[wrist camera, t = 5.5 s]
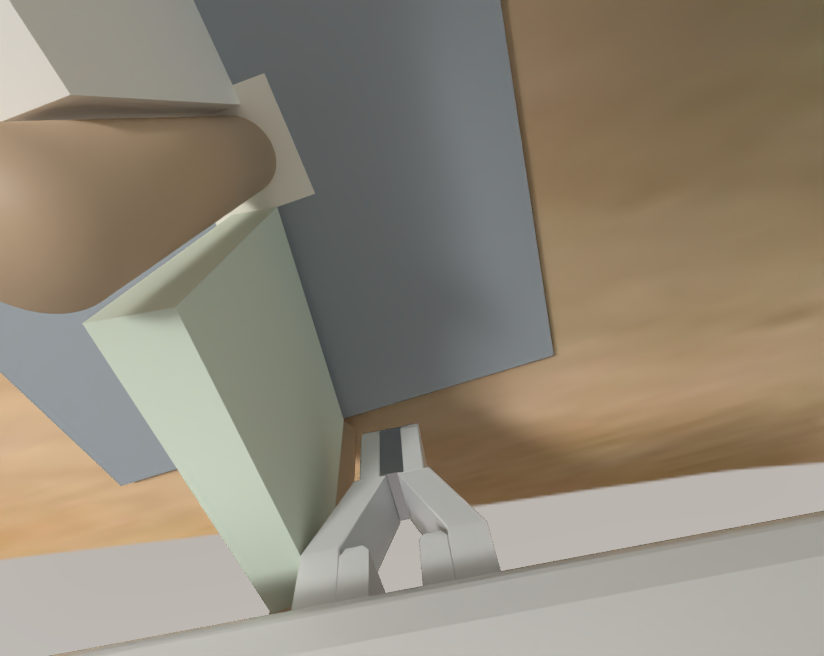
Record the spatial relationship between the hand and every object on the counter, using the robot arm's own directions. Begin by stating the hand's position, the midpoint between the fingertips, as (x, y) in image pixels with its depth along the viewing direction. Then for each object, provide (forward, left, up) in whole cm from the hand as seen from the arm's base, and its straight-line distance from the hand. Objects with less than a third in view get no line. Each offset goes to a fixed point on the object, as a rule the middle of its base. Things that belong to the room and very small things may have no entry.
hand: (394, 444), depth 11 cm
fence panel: (-2, -2, -3) cm, 4 cm away
